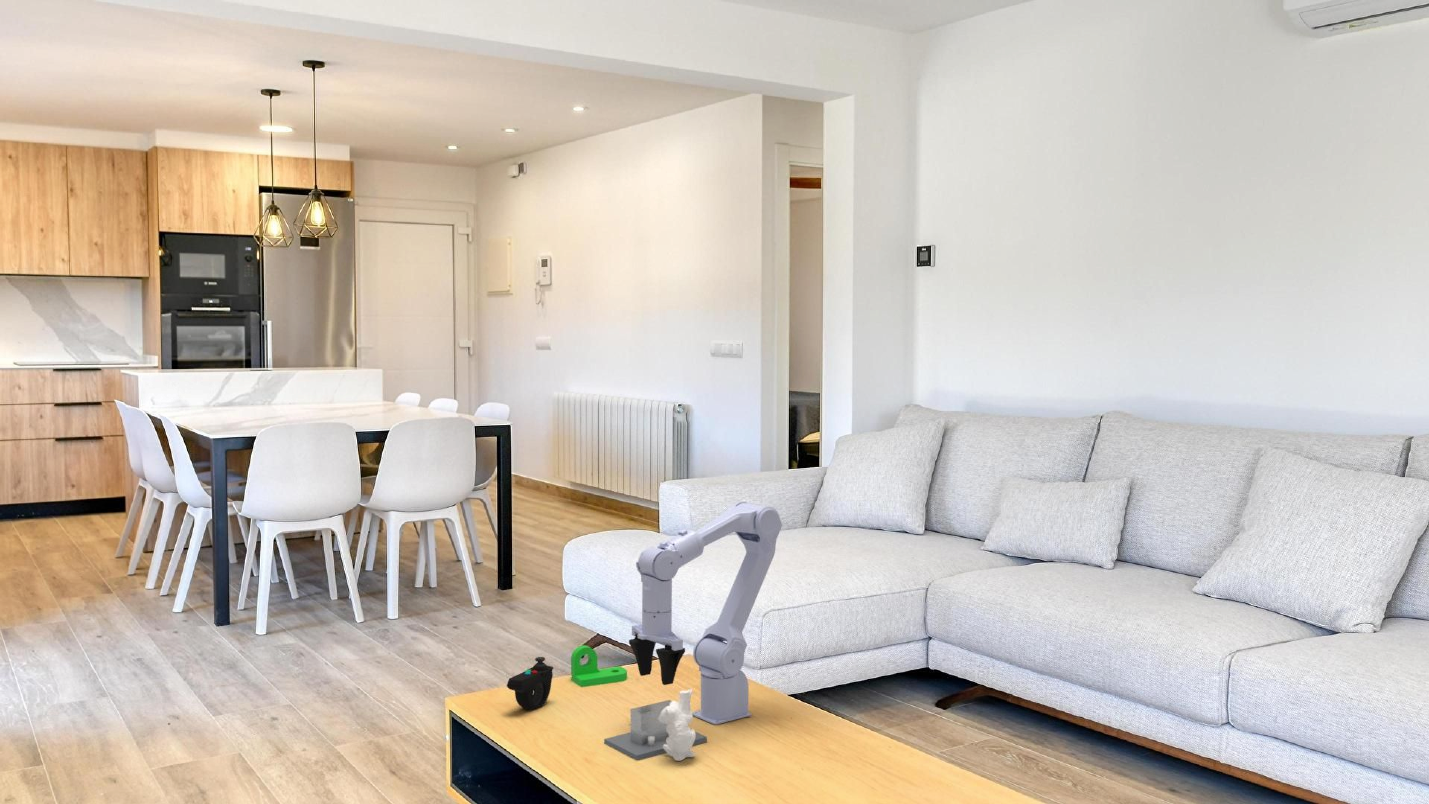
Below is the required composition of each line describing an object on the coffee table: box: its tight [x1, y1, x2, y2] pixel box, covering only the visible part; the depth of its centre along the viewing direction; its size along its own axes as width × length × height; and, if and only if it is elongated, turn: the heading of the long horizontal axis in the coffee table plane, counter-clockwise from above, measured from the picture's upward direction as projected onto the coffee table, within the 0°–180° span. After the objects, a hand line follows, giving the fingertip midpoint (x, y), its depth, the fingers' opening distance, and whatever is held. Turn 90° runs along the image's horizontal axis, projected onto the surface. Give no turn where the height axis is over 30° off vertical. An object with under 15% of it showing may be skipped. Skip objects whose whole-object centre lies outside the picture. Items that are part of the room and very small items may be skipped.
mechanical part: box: [570, 645, 628, 688], centre depth 260 cm, size 12×6×8 cm, turn 118°
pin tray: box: [603, 731, 708, 761], centre depth 220 cm, size 16×11×3 cm
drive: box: [629, 699, 673, 746], centre depth 220 cm, size 9×4×6 cm, turn 128°
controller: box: [506, 656, 554, 711], centre depth 240 cm, size 4×12×10 cm, turn 153°
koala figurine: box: [658, 688, 696, 762], centre depth 213 cm, size 8×7×12 cm
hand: (656, 679), depth 226 cm, fingers open, 7 cm apart
